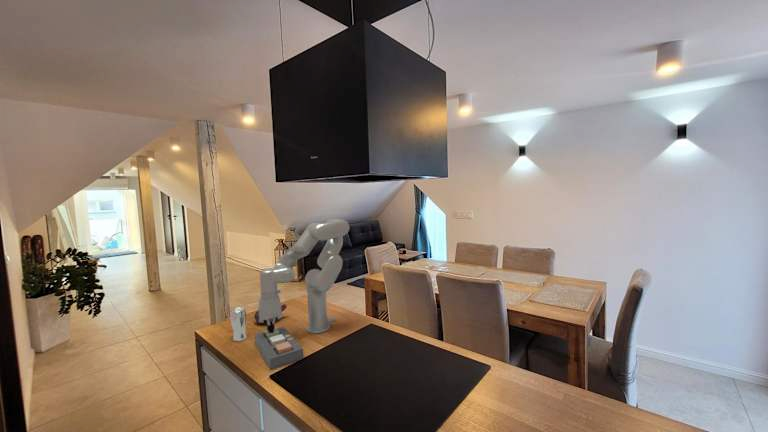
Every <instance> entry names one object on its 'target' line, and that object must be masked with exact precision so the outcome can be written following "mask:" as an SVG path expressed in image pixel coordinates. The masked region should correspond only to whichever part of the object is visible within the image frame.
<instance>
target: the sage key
mask: <svg viewBox="0 0 768 432" xmlns="http://www.w3.org/2000/svg"><path fill="white" fill-rule="evenodd" d="M274 328H275V329H274V332H273V333H269V331H267V330H265V331H263V332H265V337H266V339H268V338H269V337H273V336H276V335H280V332H279V331H278V330H277V328H278V327H274Z"/></svg>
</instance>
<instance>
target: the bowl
mask: <svg viewBox="0 0 768 432" xmlns="http://www.w3.org/2000/svg"><path fill="white" fill-rule="evenodd" d="M287 307H288V306H287V304H285V303H283V304H281V310H282V312H284V311H285V310H286V309H287ZM253 318H254V320H255V321H256V322H257V323H259V317H258V310H256V312H255V313H254V315H253ZM269 321H270V323H271V319H269Z"/></svg>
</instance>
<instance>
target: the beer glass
mask: <svg viewBox="0 0 768 432" xmlns="http://www.w3.org/2000/svg"><path fill="white" fill-rule="evenodd" d="M230 323H231V328H232V331H233V338H232V339H233V341H234V342H241V341H243V340H246V339H247V337H248V336H247V333H246V325H247V312H246V308H245V307H242V306H239V307H234V308H232V309H230Z"/></svg>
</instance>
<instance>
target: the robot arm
mask: <svg viewBox="0 0 768 432" xmlns="http://www.w3.org/2000/svg"><path fill="white" fill-rule="evenodd" d="M349 231H350V224H349V222H348V221H346V220H344V219H339V218H329V219H327V221H326V222H324V223H321V222H311V223H310V224H309V225H308V226H307V227H306V228H305V229H304V230H303V233H302V234H301V235H300V237H299V238H297V241H296V242H295V244H294V245H292V246H291V247H290V248H289V249H288V250H286V251H285V252H284V253H283V254H282V255H281V256H280V257H279V259H278V261H277V262H276V263H275V265H274V266H273V267H268V268H263V269H261V270H260V271H259V282H260V285H259V287H260V288H259V289H260V297H259V299H258V303H257V304H258V305H257V311H258V317H259V322H258V323H260V324H266V329H267V330H266V331H269V333H273V332H274V329H275V328H276V327H275V324H276V322H277V321H278V320H279V319H281V318H282V317H283V315H282V310H281V306H282V304H281V299H280V298H281V297H280V296H279V294H281V290H280V289H278V284H286V283H291V282H292V281H294V279H295V277H296V276H295V275H296V274H295V271H294V270H293V269H292V268H291V267H292V266H293V265H294V264H295V263H296V262H297V261H298V260H300V259H302V258H304V257H307V256H308V255H310V253H311V251H312V250H313V249H314V247H315V246H316V245H317V243H318V242H319V241H323V242H324V241H326V243H325V245H324V246H323V248H322V250H321V252H320V254H319V256H318V257H317V261H316V263H317V266H319V268H321V270H320V269H318V268H314V269H310V270H308V272H307V273H306V275H305V279H304V281H305V287H306V288H305V289H306V293H307V294H306V295H307V312H308V324H307V326H306V327H305V331H307V333H309V334H322V333H326V332H327V331H329V330H330V329H331V326H332V325H331V323H334V322H336V321H337V319H336V317H333V318H332V316H329V317H328V311H327V310H328V309H327V294H326V293H327V291H329V290H330V289H331V288H332V287H333V285H334V283H335V281H336V280H337V278H338V276H339V274H340V272H341V271H342V268H343V262H344V261H343V258H342V257H341V255H339V253H340V251H341V250H342V248H343V244H344V238H343V237H344V236H346V235H347V234H348V233H349ZM269 319H271V322H270V321H269Z"/></svg>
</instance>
